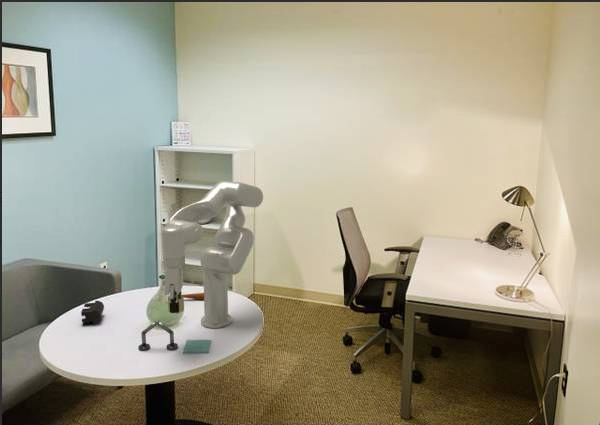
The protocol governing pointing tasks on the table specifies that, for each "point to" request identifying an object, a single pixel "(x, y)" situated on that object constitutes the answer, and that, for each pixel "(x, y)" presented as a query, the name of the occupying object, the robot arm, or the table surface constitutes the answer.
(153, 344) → the table surface
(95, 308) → the dark brown lumpy block
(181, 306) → the bronze ring
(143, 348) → the pipe arch
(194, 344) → the mat
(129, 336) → the table surface
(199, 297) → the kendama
